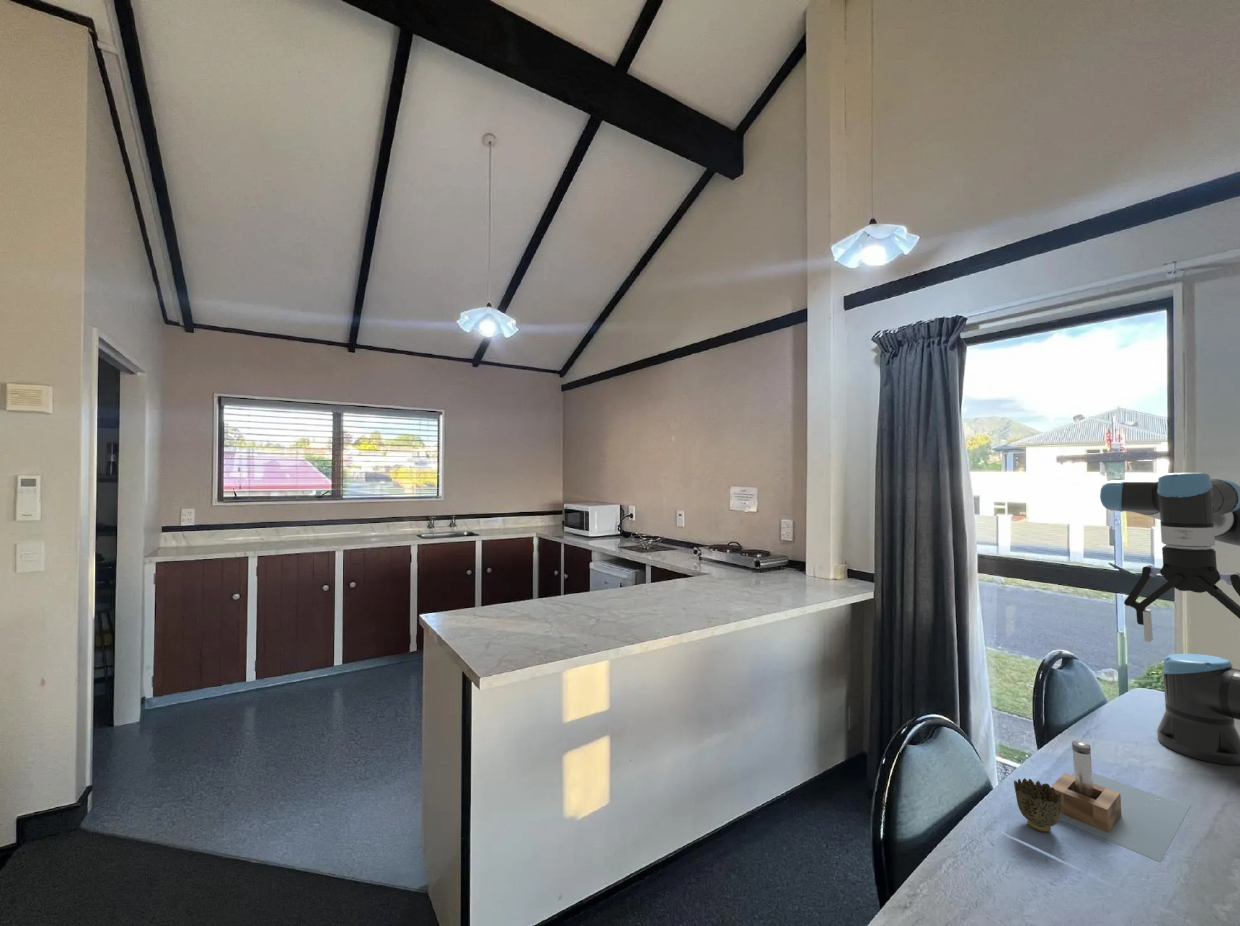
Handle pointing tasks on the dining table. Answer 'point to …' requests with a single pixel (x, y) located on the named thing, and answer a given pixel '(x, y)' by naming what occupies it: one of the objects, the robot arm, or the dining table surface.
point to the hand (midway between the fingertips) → (1194, 648)
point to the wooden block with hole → (1089, 804)
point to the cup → (1038, 804)
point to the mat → (1139, 820)
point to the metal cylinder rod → (1082, 768)
